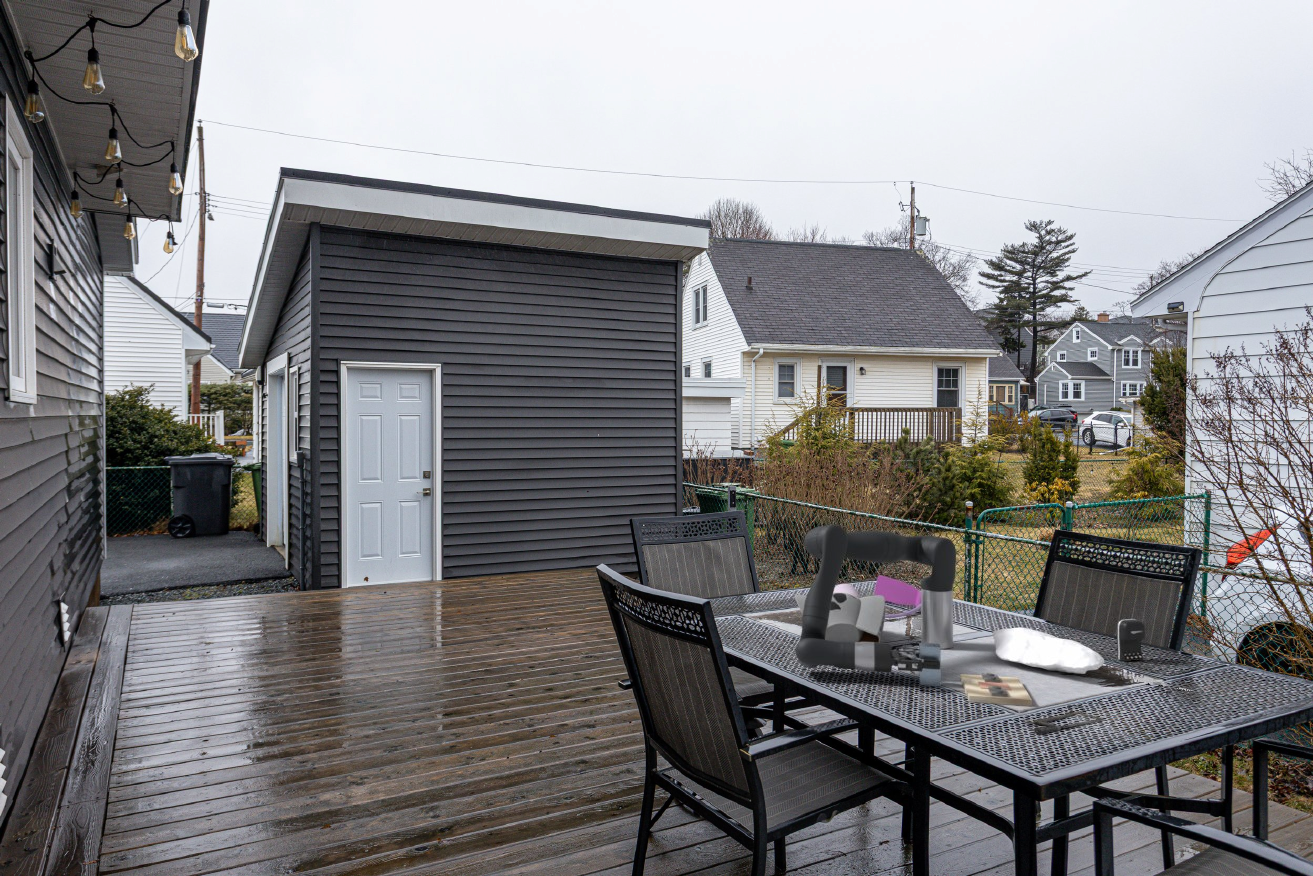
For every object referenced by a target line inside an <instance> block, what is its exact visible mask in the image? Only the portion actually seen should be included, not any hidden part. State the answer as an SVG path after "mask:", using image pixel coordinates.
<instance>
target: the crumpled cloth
mask: <svg viewBox="0 0 1313 876" xmlns="http://www.w3.org/2000/svg"><path fill="white" fill-rule="evenodd" d="M992 637H993V640H994V645H995V654H996V655H997V657H998V658H999V659H1000V660H1003V661H1009V662H1013V663H1020V664H1022V665H1026V666H1030V667H1034V668H1040V669H1044V670H1047V671H1057V672H1065V673H1068V674H1069V673H1073V674H1080V675H1081V674H1082V675H1083V674H1086V673H1087V672H1088V671H1095V670H1099V668H1101V667H1102V666H1103V665H1104V664H1105V659H1104V658H1103V656H1102V655H1101V654H1100V653H1098V652H1097V651H1095V650H1093V649H1092V648H1090V647H1088V646H1085V645H1083V644H1082V643H1080V642H1078V641H1076V640H1072V639H1066V638H1059V637H1056V636H1054V635H1052V634H1048V633H1046V632H1042V631H1038V630H1034V629H1031V628H1028V627H1027V628H1026V627H1013V628H1002V629H997V630H994V631H993V632H992Z"/></svg>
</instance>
